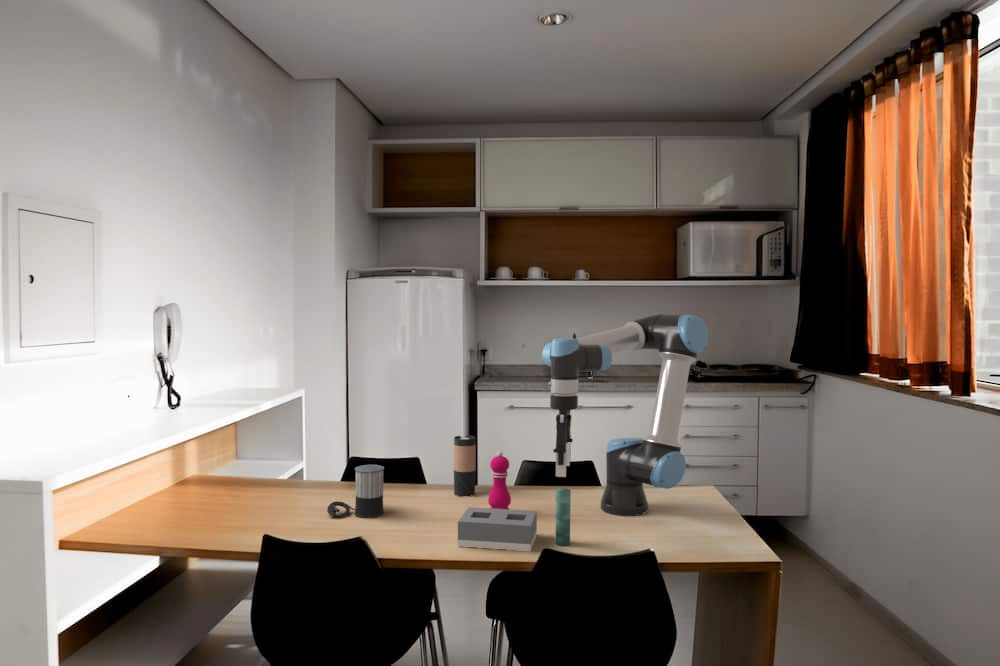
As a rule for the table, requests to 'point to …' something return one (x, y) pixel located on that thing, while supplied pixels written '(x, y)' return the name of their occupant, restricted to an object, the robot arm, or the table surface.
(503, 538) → the hole block
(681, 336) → the robot arm
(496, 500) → the pepper mill
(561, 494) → the pin
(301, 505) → the table surface
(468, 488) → the travel mug
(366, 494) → the milk frother
